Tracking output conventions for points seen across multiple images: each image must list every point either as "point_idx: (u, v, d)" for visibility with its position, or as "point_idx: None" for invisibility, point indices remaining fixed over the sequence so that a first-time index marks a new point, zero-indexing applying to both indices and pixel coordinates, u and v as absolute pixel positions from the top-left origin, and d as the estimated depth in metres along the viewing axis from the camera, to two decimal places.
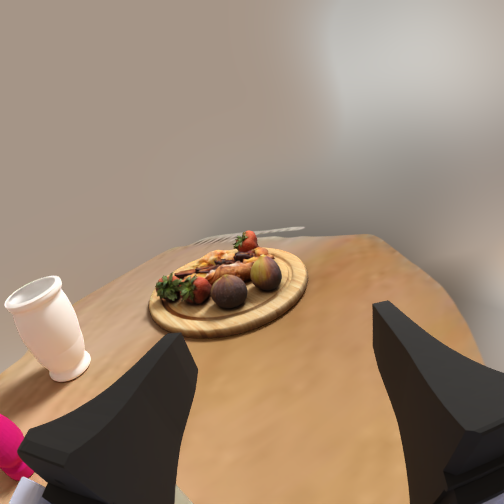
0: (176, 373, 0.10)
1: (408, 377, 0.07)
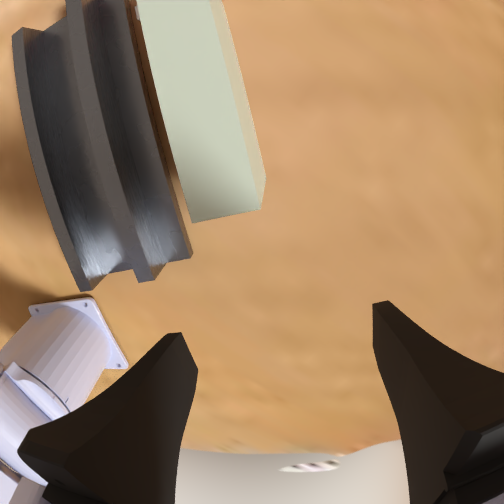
0: (176, 373, 0.10)
1: (408, 377, 0.07)
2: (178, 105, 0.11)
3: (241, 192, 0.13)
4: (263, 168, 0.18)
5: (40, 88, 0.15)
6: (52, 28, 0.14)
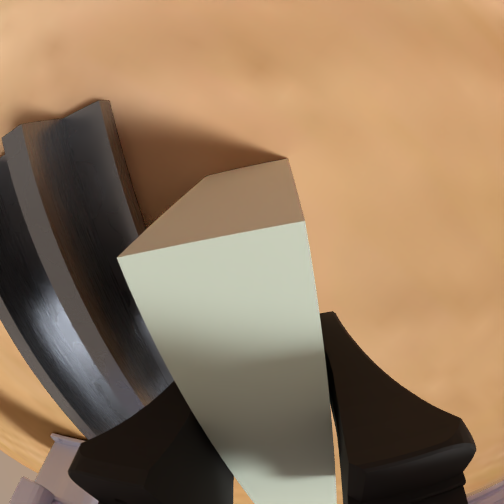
0: None
1: (334, 393, 0.07)
2: (255, 470, 0.07)
3: None
4: None
5: (10, 272, 0.11)
6: (4, 162, 0.10)
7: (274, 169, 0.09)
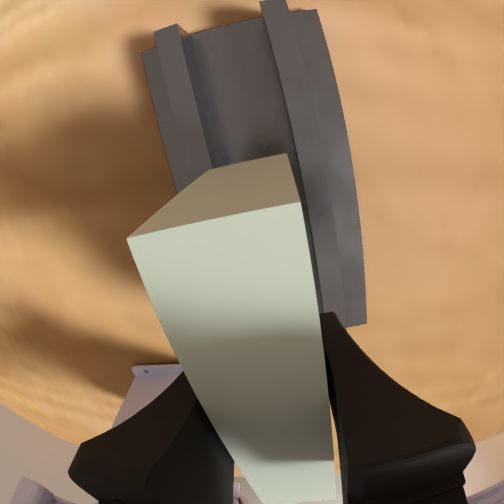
0: None
1: (334, 393, 0.07)
2: (255, 454, 0.08)
3: (320, 494, 0.09)
4: None
5: (206, 120, 0.15)
6: (207, 35, 0.14)
7: (273, 162, 0.09)
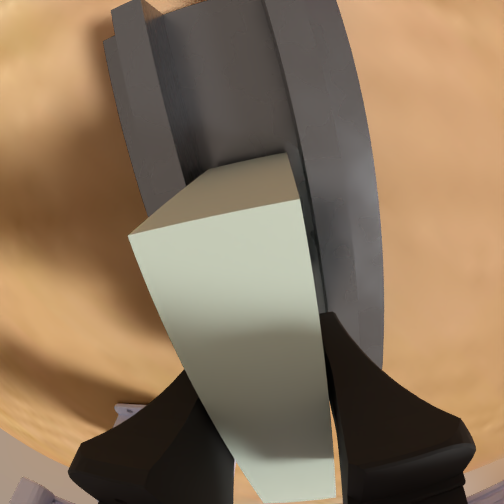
0: None
1: (334, 393, 0.07)
2: (255, 452, 0.08)
3: (320, 493, 0.09)
4: None
5: (180, 125, 0.11)
6: (185, 13, 0.10)
7: (273, 161, 0.09)
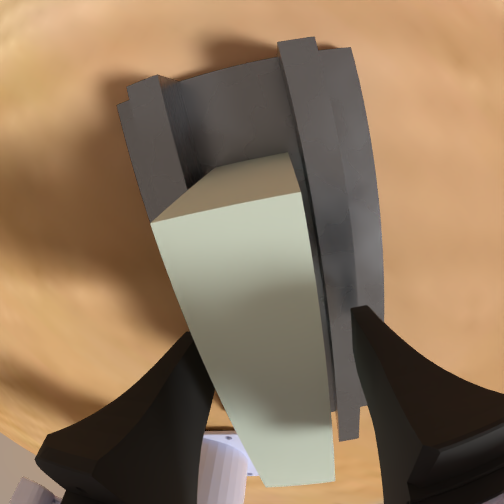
0: (197, 372, 0.10)
1: (380, 384, 0.07)
2: (259, 430, 0.09)
3: (320, 475, 0.10)
4: None
5: None
6: (202, 82, 0.11)
7: (276, 160, 0.10)
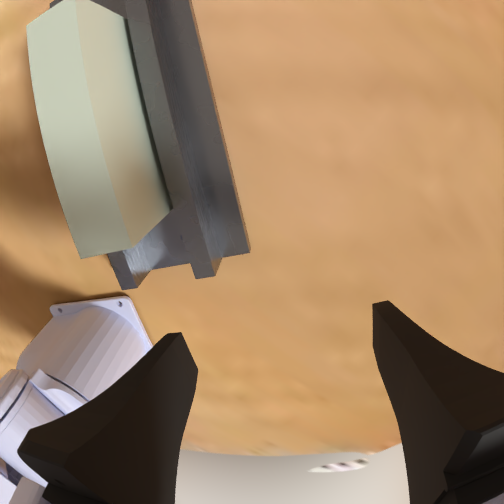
0: (176, 373, 0.10)
1: (408, 377, 0.07)
2: (58, 150, 0.11)
3: (114, 231, 0.12)
4: None
5: None
6: (95, 0, 0.13)
7: None
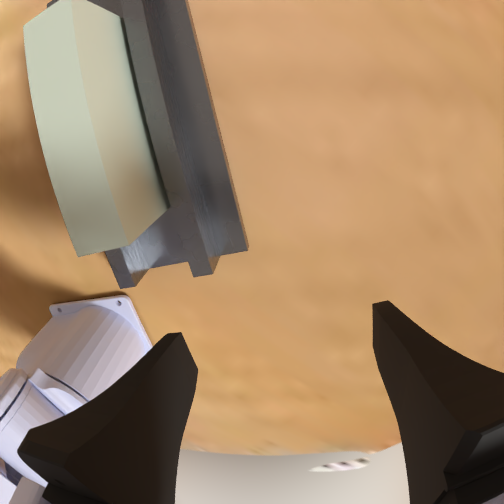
0: (176, 373, 0.10)
1: (408, 377, 0.07)
2: (55, 148, 0.11)
3: (111, 229, 0.12)
4: None
5: None
6: (92, 0, 0.13)
7: None
